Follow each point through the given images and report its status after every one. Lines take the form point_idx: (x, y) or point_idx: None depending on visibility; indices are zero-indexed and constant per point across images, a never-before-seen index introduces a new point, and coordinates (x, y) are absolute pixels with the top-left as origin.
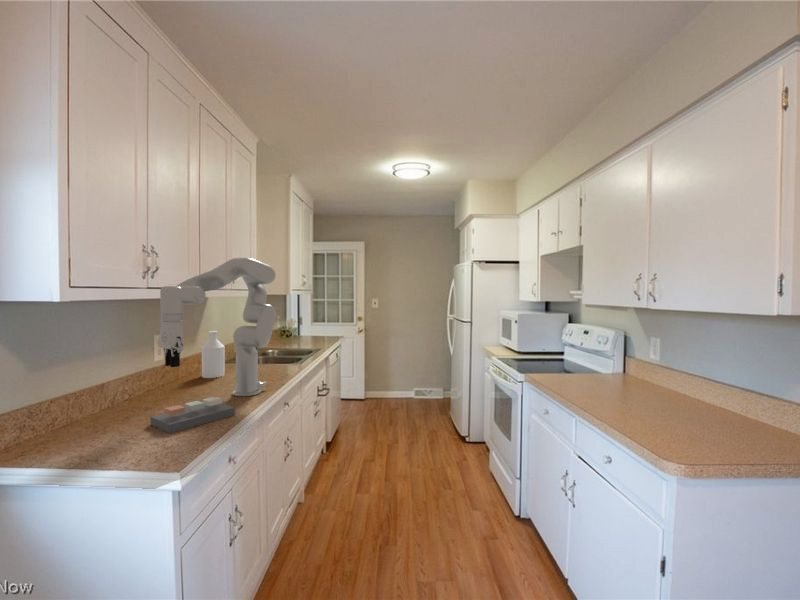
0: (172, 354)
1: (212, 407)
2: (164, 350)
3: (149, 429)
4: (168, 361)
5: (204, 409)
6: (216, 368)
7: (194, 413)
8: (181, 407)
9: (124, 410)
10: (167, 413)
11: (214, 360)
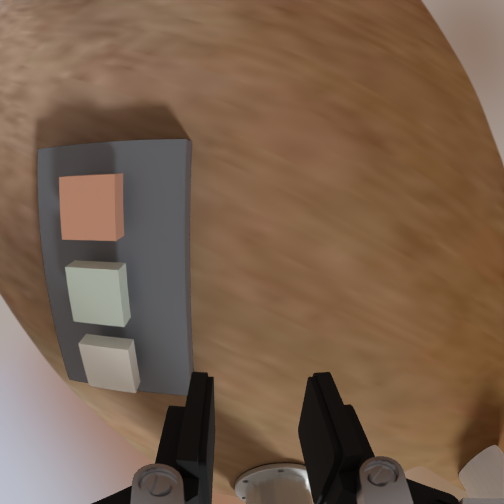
0: (145, 493)
1: None
2: (445, 495)
3: (146, 119)
4: (315, 421)
5: None
6: (473, 480)
7: None
8: (68, 229)
9: (457, 186)
10: (94, 174)
11: (485, 491)
